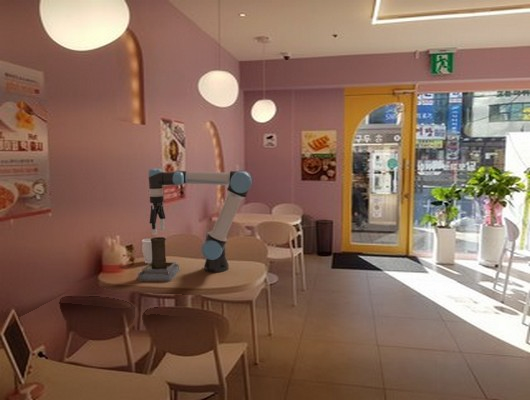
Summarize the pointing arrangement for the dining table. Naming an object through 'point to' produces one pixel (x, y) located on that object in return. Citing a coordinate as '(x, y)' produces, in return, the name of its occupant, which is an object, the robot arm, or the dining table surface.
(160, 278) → the grey tray
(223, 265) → the robot arm
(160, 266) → the container
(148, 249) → the jar
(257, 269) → the dining table surface
